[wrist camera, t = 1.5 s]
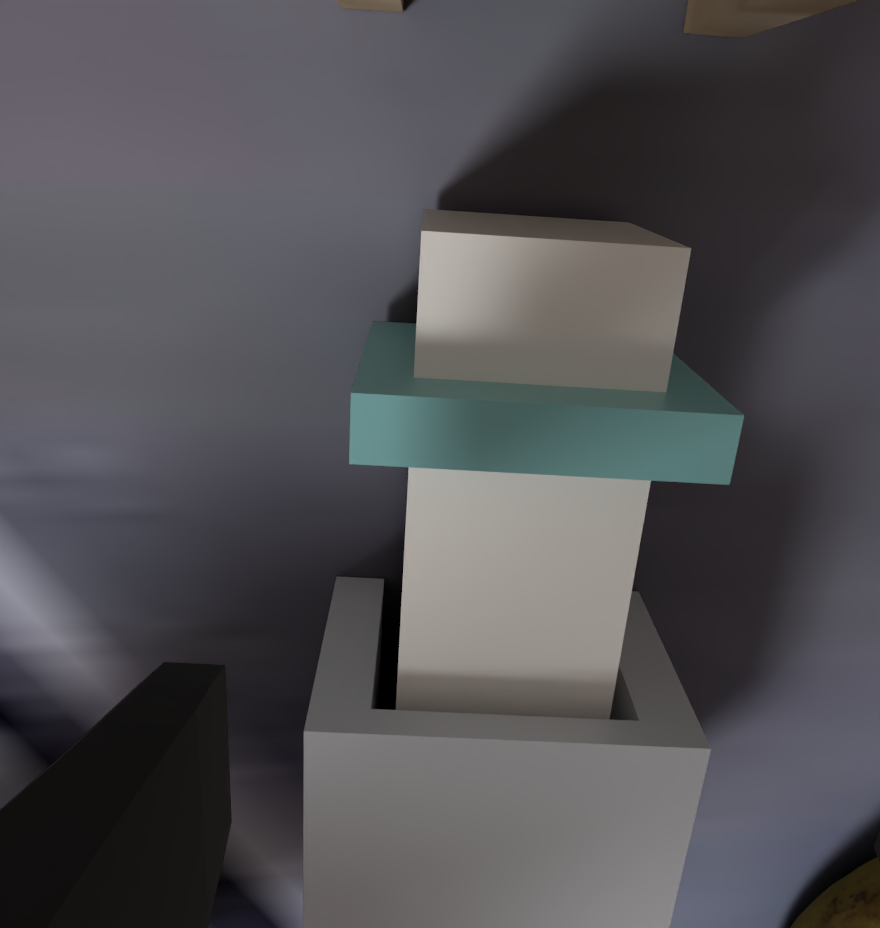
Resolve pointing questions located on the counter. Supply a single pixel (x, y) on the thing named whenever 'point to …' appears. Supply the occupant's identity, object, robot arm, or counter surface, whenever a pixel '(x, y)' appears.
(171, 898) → the robot arm
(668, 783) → the sleeve
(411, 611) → the white bar teal band
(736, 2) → the tan rectangular block
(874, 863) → the potato
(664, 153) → the counter surface
